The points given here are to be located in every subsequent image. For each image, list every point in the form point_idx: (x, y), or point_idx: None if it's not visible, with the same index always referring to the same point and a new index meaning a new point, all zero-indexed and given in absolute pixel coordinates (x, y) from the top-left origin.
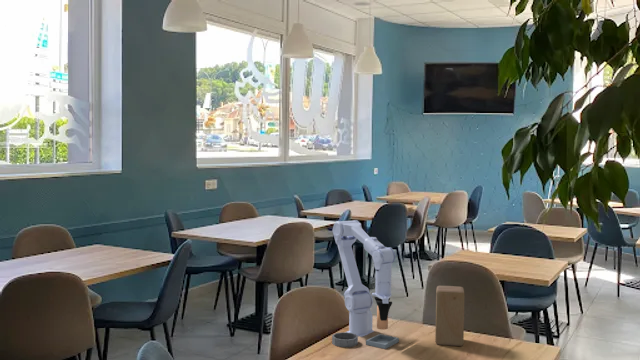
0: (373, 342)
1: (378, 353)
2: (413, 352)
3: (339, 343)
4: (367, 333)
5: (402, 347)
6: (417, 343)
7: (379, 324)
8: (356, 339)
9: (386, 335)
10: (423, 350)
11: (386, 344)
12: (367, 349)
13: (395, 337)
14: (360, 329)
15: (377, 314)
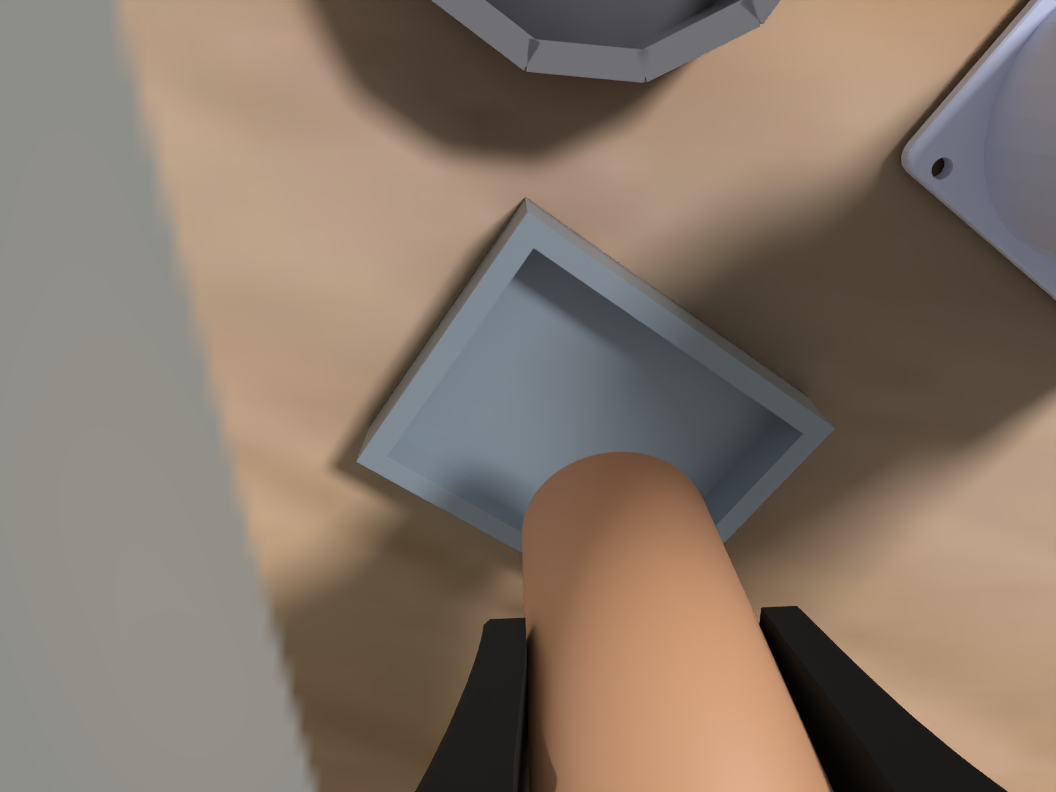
0: (454, 318)
1: (240, 343)
2: (346, 675)
3: None
4: (1030, 255)
5: (497, 600)
6: None
7: (541, 536)
8: (496, 48)
9: (756, 502)
10: (420, 751)
11: (386, 475)
12: (379, 212)
13: None
14: (1042, 152)
15: (620, 637)
